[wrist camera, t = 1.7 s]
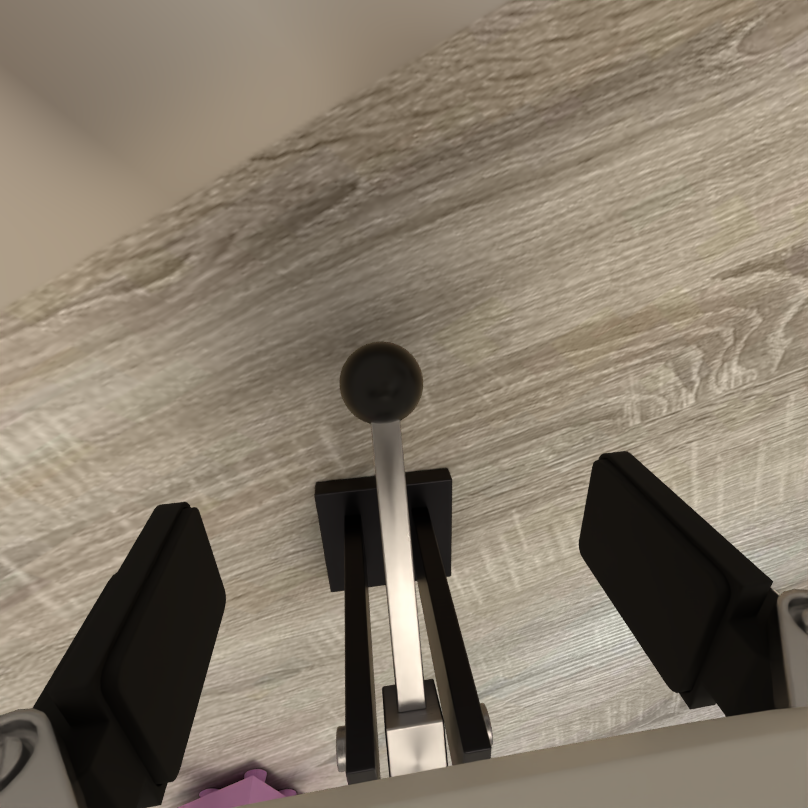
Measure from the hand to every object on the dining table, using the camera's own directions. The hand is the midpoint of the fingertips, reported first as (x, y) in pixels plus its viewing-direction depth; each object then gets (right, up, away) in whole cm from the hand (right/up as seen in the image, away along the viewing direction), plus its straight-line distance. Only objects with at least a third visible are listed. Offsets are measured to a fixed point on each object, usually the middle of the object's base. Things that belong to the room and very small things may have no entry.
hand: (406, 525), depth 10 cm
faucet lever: (0, -3, +8) cm, 9 cm away
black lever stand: (-1, -5, +17) cm, 18 cm away
